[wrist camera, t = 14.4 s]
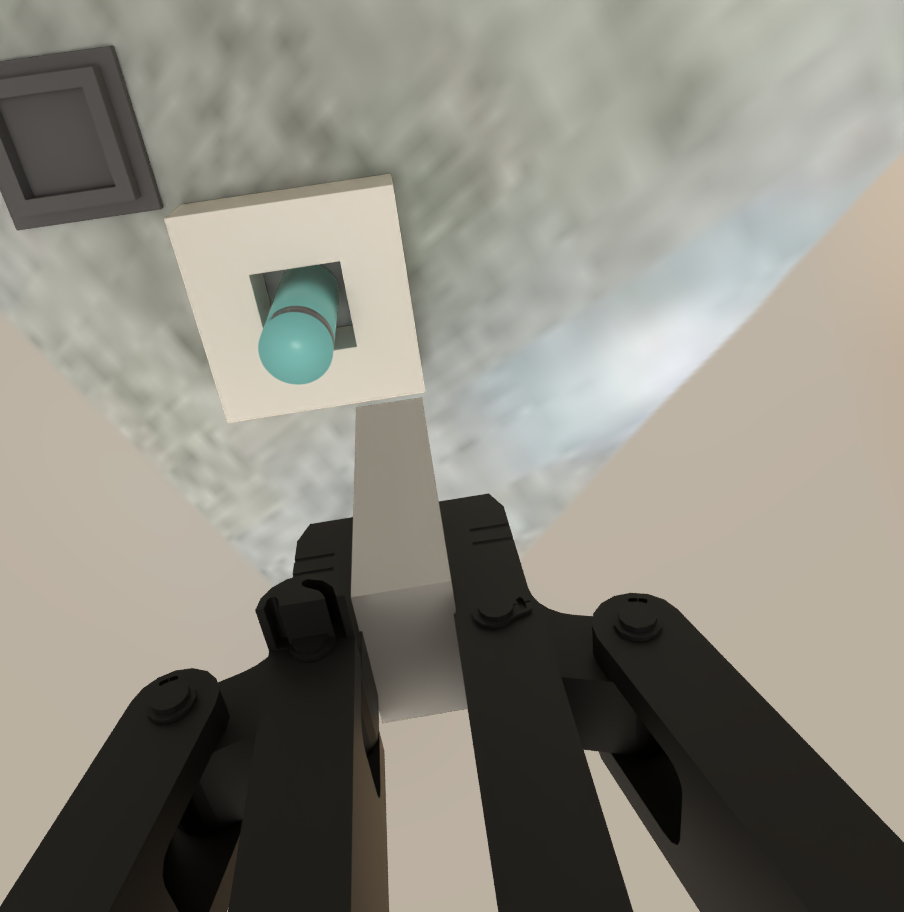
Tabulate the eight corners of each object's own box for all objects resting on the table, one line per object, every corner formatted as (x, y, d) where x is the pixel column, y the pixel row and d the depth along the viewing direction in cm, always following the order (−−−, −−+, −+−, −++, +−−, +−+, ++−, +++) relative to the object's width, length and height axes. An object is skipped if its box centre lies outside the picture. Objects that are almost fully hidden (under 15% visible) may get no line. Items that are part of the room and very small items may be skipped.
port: (181, 204, 41) (163, 218, 38) (390, 173, 42) (393, 184, 38) (237, 395, 47) (227, 423, 44) (421, 367, 47) (425, 392, 44)
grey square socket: (-45, 68, 37) (-63, 68, 35) (113, 46, 37) (102, 45, 36) (21, 228, 41) (7, 235, 39) (163, 207, 41) (155, 213, 40)
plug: (273, 267, 43) (249, 321, 35) (332, 258, 44) (324, 309, 35) (287, 324, 45) (268, 389, 36) (344, 315, 45) (339, 378, 37)
